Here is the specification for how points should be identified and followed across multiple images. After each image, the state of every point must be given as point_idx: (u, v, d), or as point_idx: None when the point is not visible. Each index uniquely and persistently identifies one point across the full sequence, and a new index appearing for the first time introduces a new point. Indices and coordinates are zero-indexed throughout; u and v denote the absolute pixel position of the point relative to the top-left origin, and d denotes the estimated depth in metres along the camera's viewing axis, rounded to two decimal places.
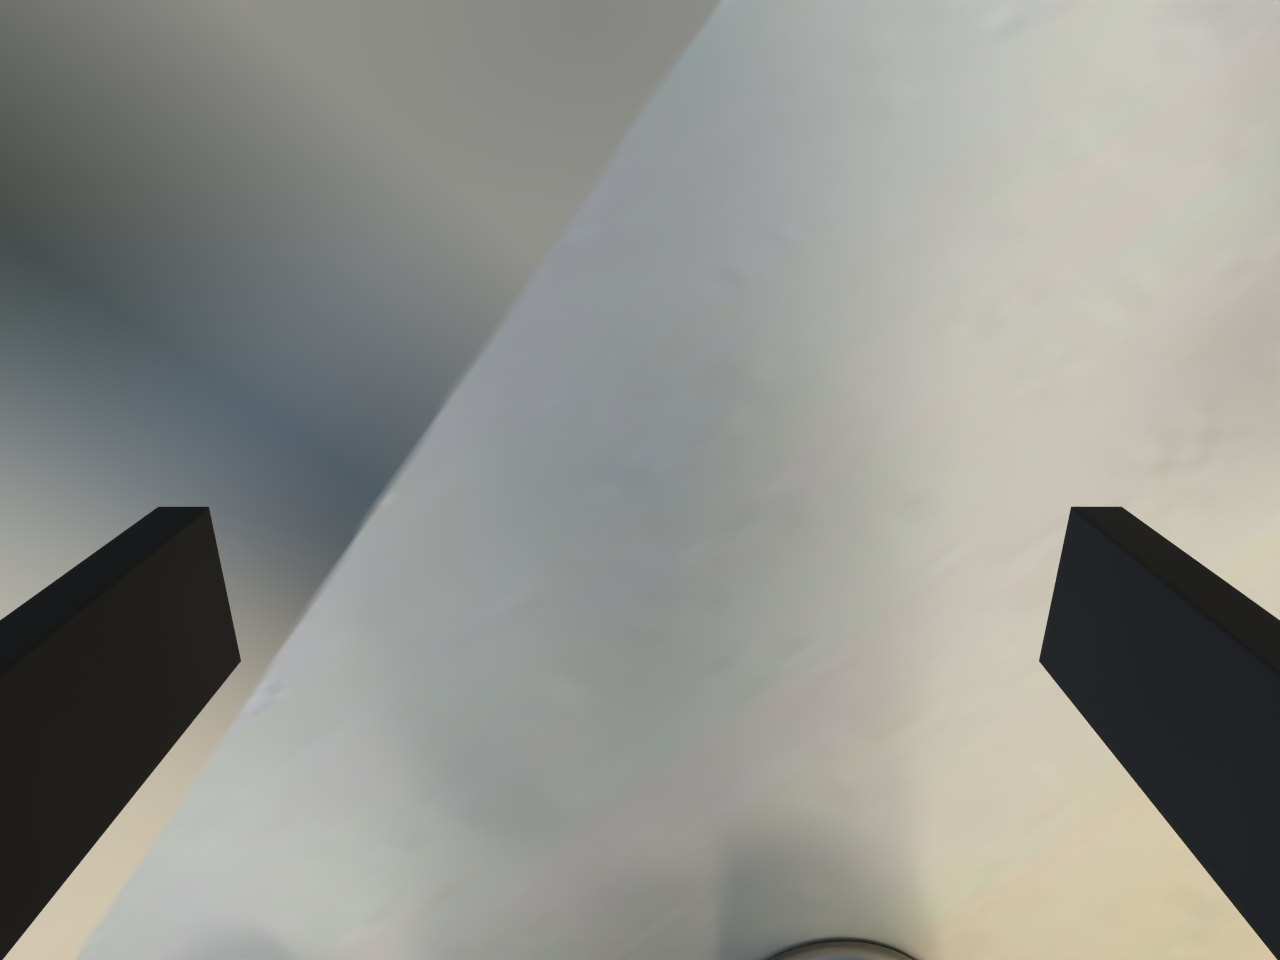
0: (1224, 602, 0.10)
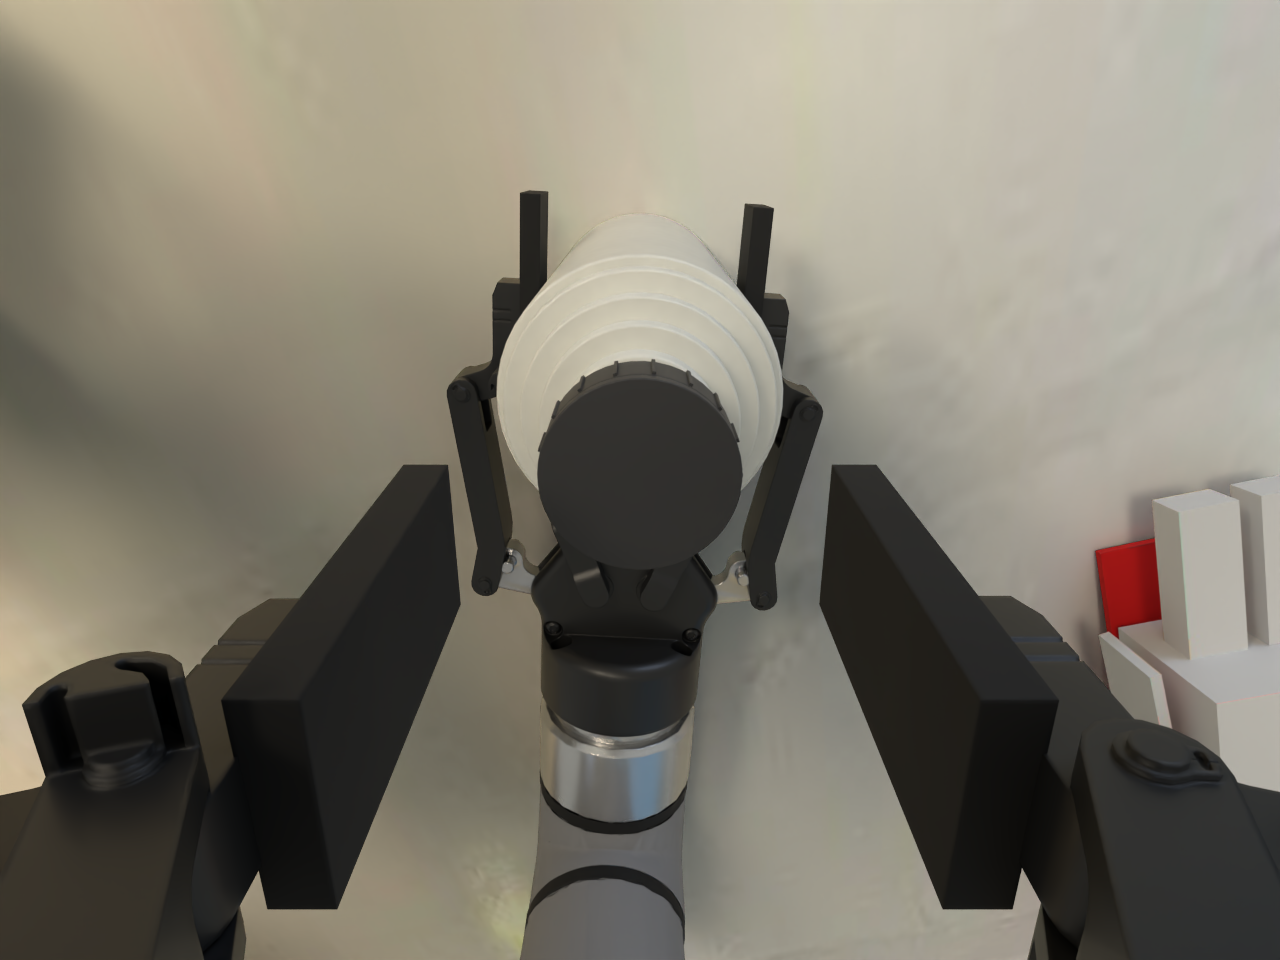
0: (905, 536, 0.11)
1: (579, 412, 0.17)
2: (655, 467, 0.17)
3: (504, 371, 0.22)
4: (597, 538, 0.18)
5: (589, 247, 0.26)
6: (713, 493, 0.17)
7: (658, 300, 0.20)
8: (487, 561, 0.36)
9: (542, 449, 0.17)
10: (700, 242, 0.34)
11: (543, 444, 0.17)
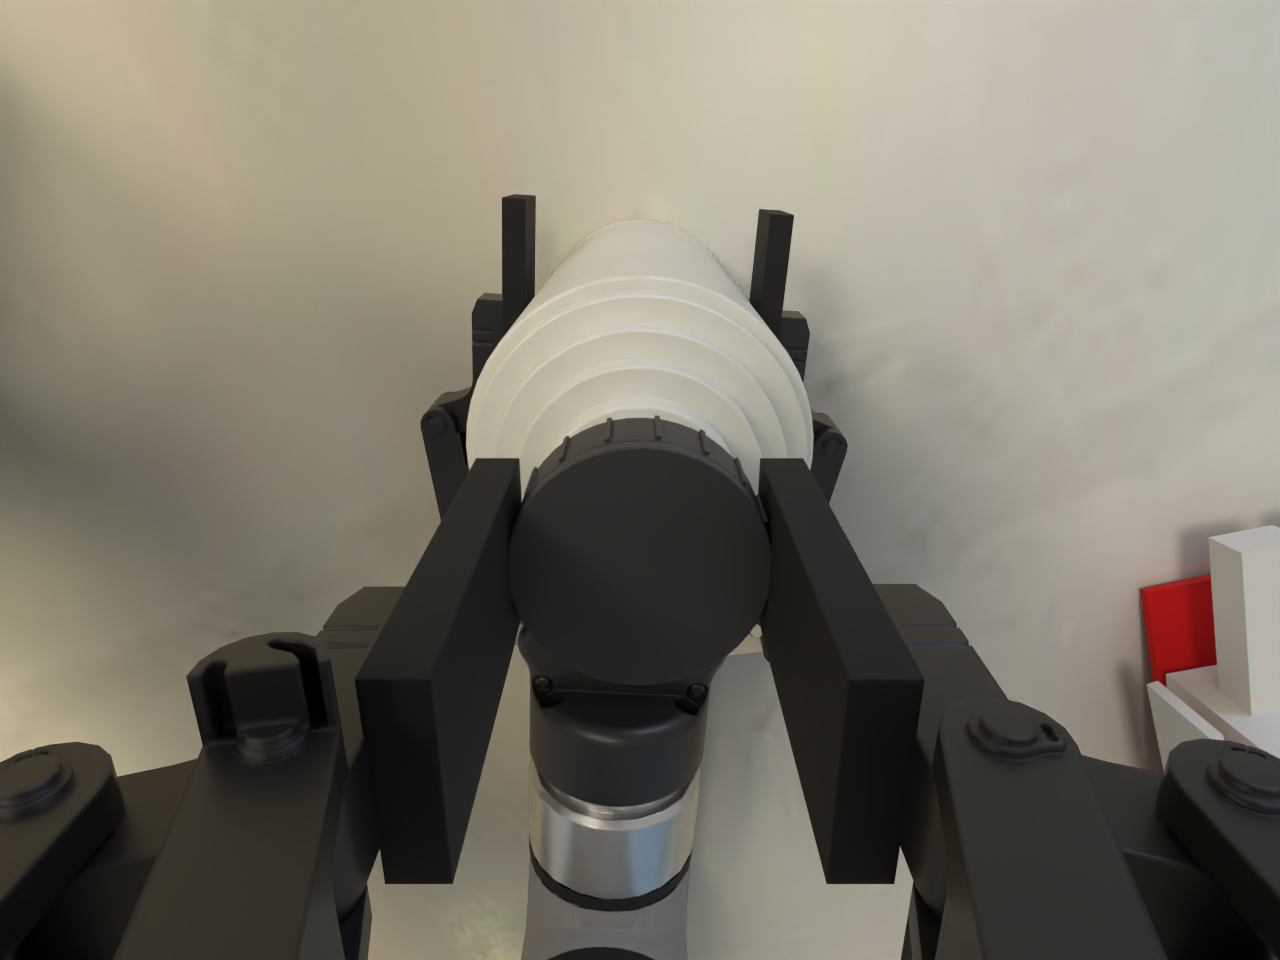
0: (815, 526, 0.12)
1: (560, 490, 0.13)
2: (660, 559, 0.13)
3: (475, 416, 0.18)
4: (585, 647, 0.14)
5: (580, 262, 0.22)
6: (735, 591, 0.13)
7: (663, 334, 0.16)
8: None
9: (512, 537, 0.13)
10: (708, 253, 0.30)
11: (513, 530, 0.13)
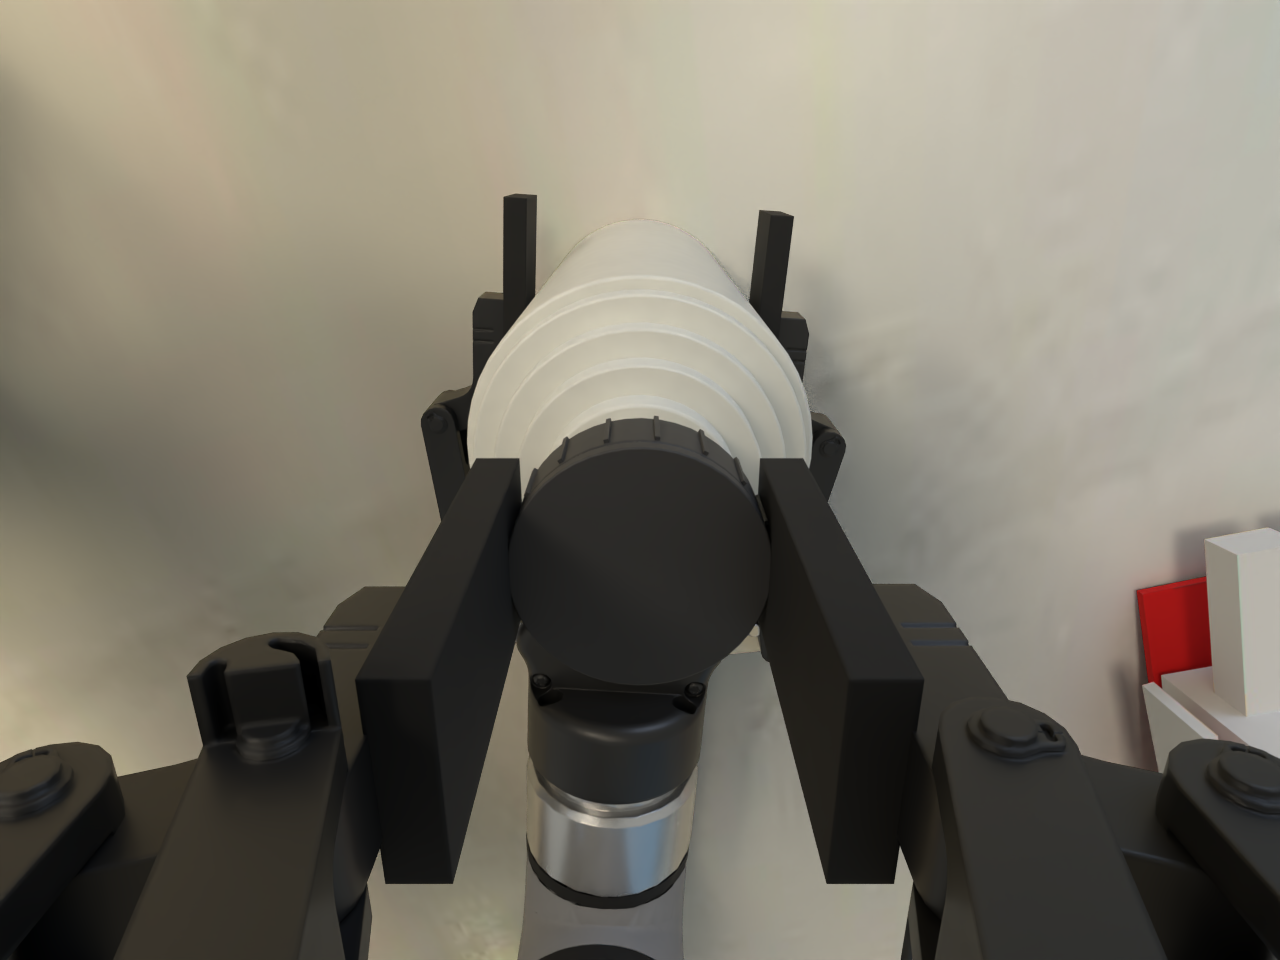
0: (815, 526, 0.12)
1: (578, 657, 0.14)
2: (619, 560, 0.13)
3: (476, 414, 0.18)
4: (736, 600, 0.13)
5: (581, 262, 0.22)
6: (632, 482, 0.13)
7: (663, 333, 0.16)
8: None
9: (636, 683, 0.14)
10: (708, 253, 0.30)
11: (630, 683, 0.14)
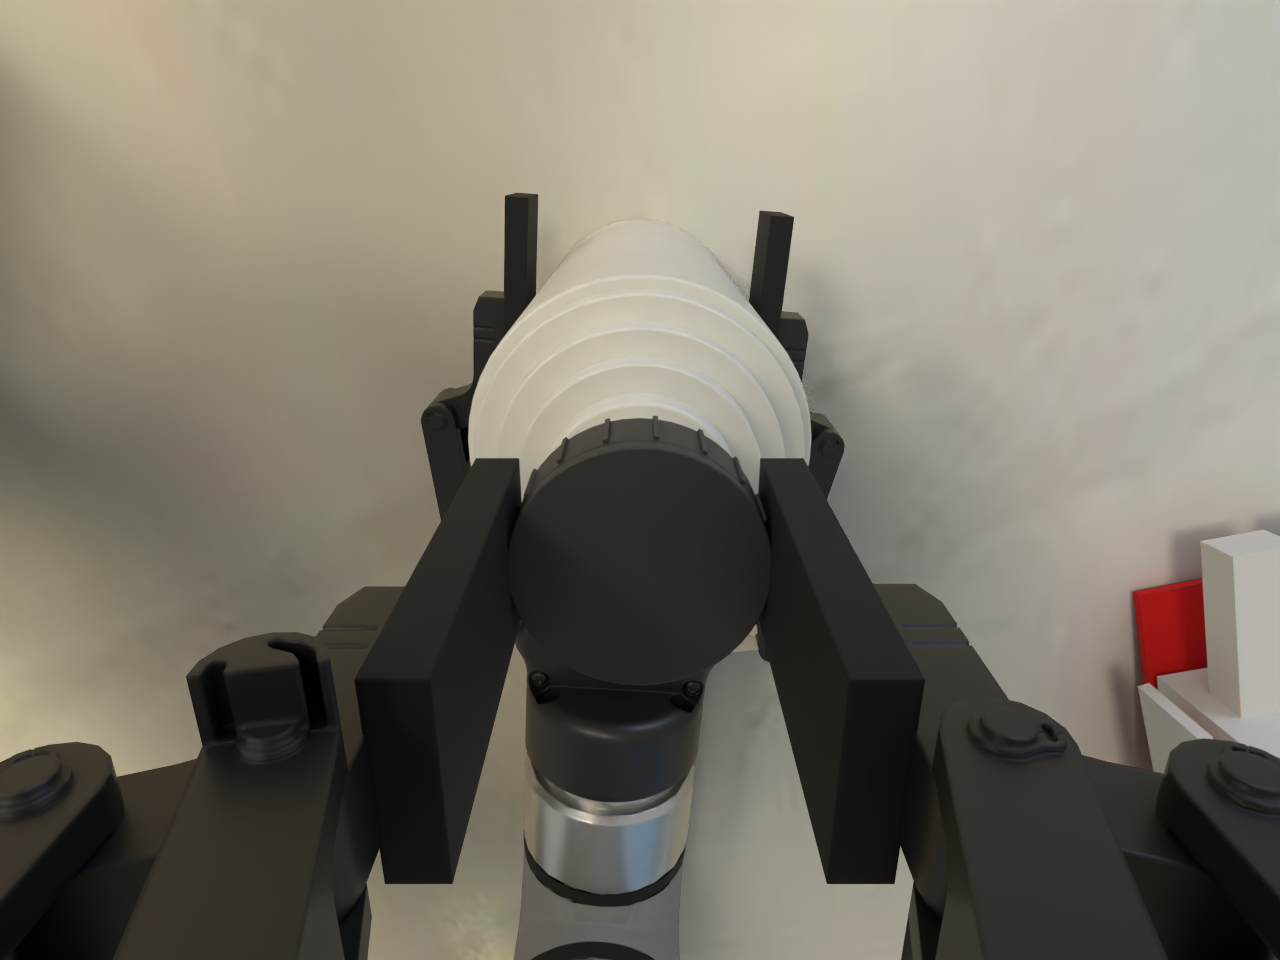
0: (815, 525, 0.12)
1: (750, 603, 0.13)
2: (631, 594, 0.13)
3: (477, 412, 0.18)
4: (641, 477, 0.13)
5: (582, 261, 0.23)
6: (548, 603, 0.13)
7: (664, 332, 0.16)
8: None
9: (768, 543, 0.13)
10: (708, 253, 0.30)
11: (769, 548, 0.13)
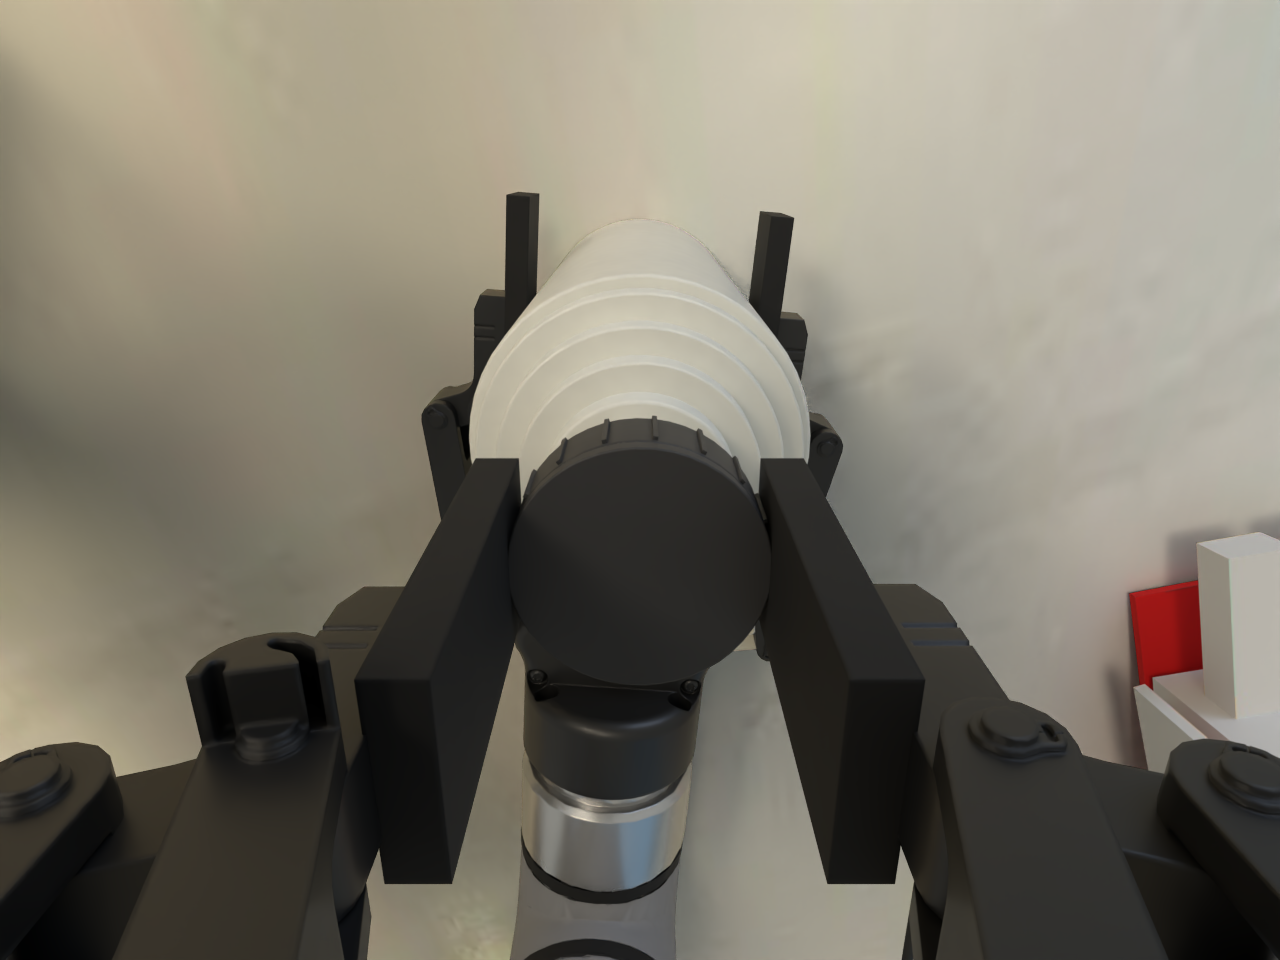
0: (815, 526, 0.12)
1: (641, 463, 0.12)
2: (665, 575, 0.13)
3: (478, 409, 0.18)
4: (541, 597, 0.13)
5: (583, 260, 0.23)
6: (696, 641, 0.14)
7: (665, 331, 0.16)
8: None
9: (568, 468, 0.12)
10: (709, 253, 0.30)
11: (573, 464, 0.12)
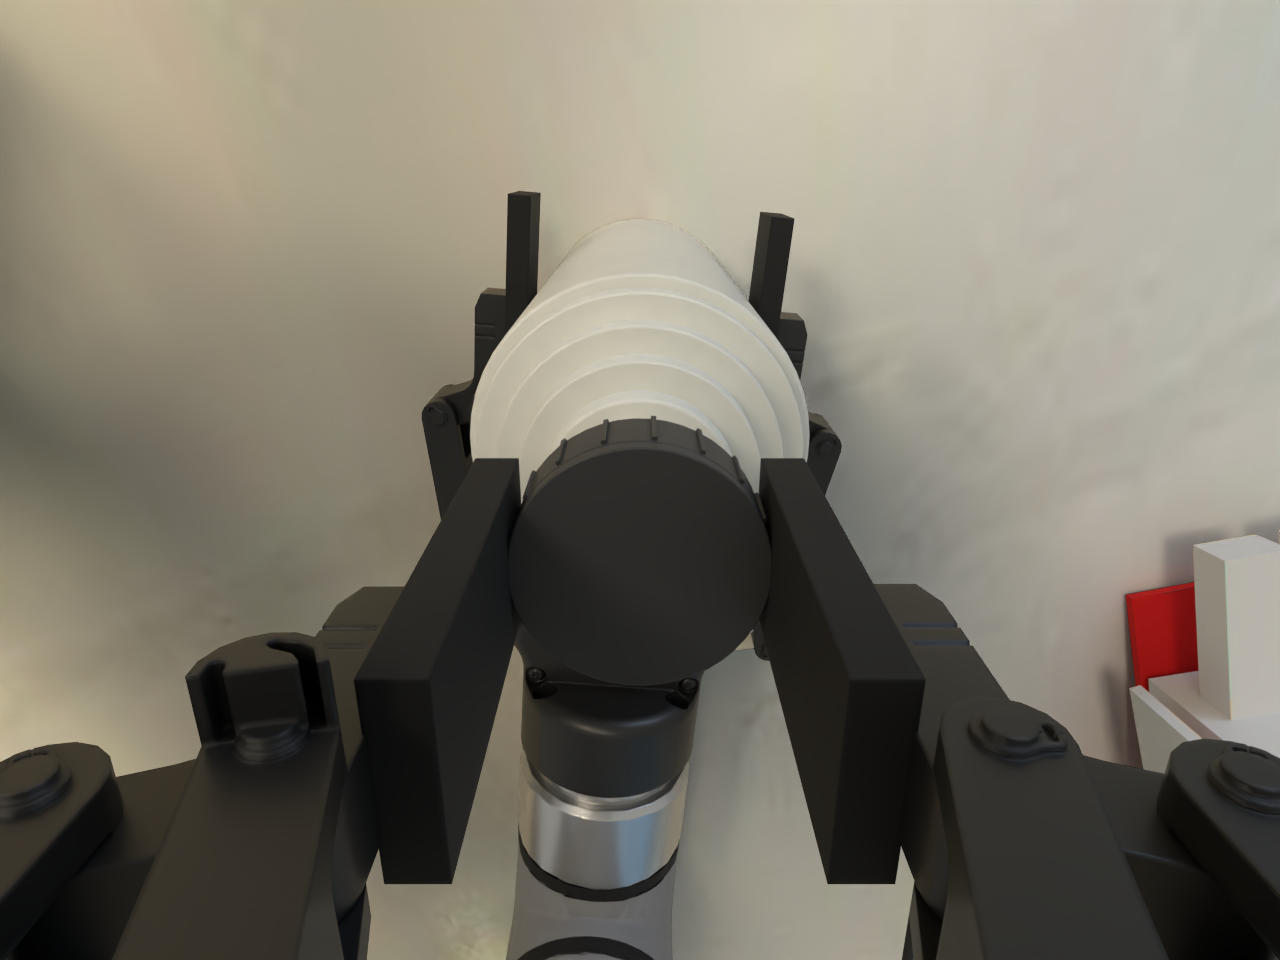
0: (815, 526, 0.12)
1: (528, 601, 0.13)
2: (634, 551, 0.13)
3: (479, 407, 0.19)
4: (692, 648, 0.14)
5: (584, 259, 0.23)
6: (701, 501, 0.13)
7: (666, 330, 0.17)
8: None
9: (554, 656, 0.14)
10: (709, 253, 0.30)
11: (550, 652, 0.14)
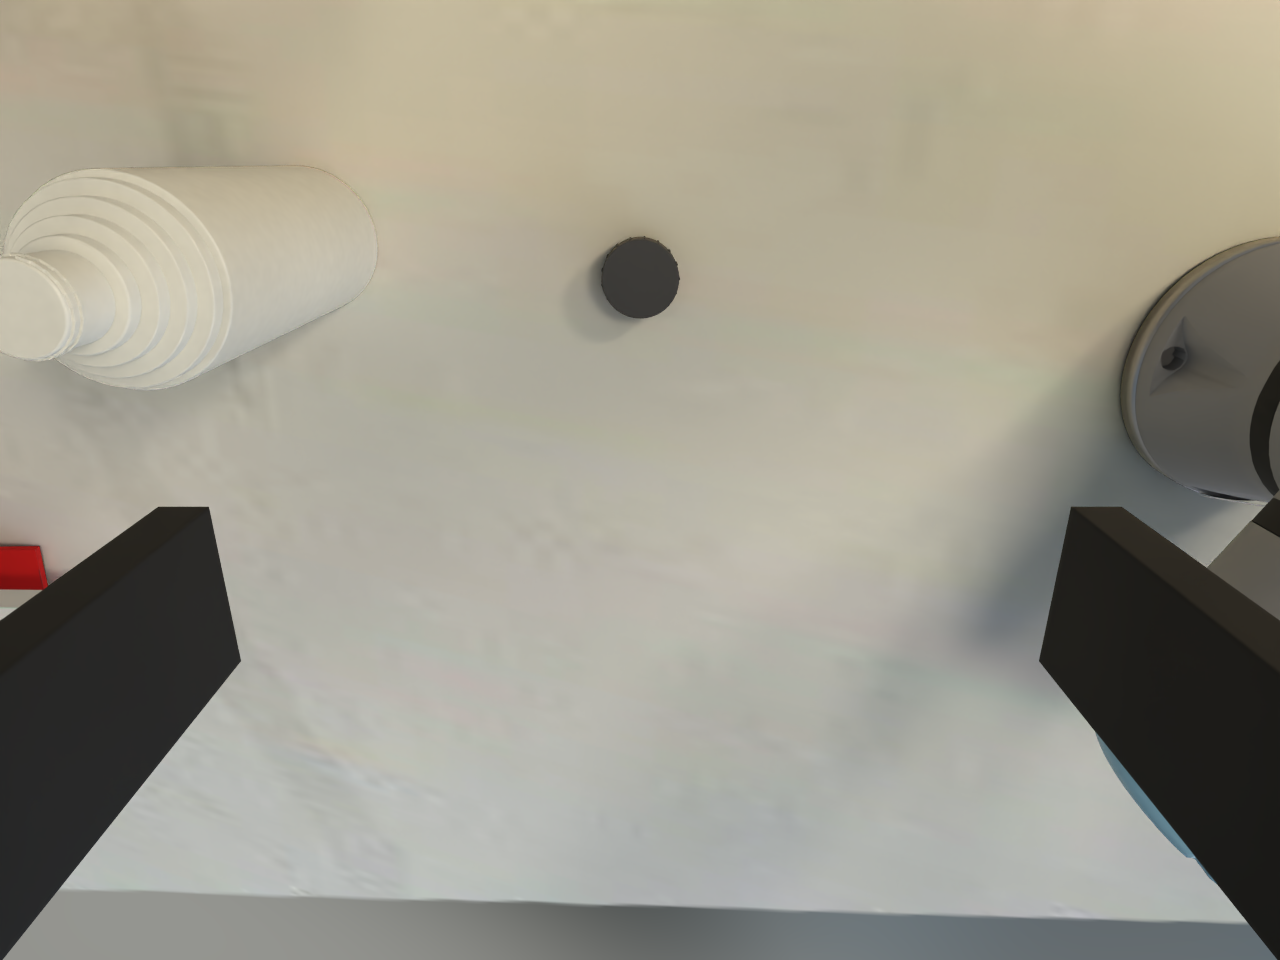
0: (1224, 602, 0.10)
1: (607, 288, 0.46)
2: (638, 272, 0.45)
3: (156, 190, 0.28)
4: (655, 305, 0.46)
5: (288, 256, 0.34)
6: (657, 256, 0.45)
7: (183, 330, 0.29)
8: None
9: (615, 307, 0.46)
10: (323, 314, 0.43)
11: (613, 306, 0.46)
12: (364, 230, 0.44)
